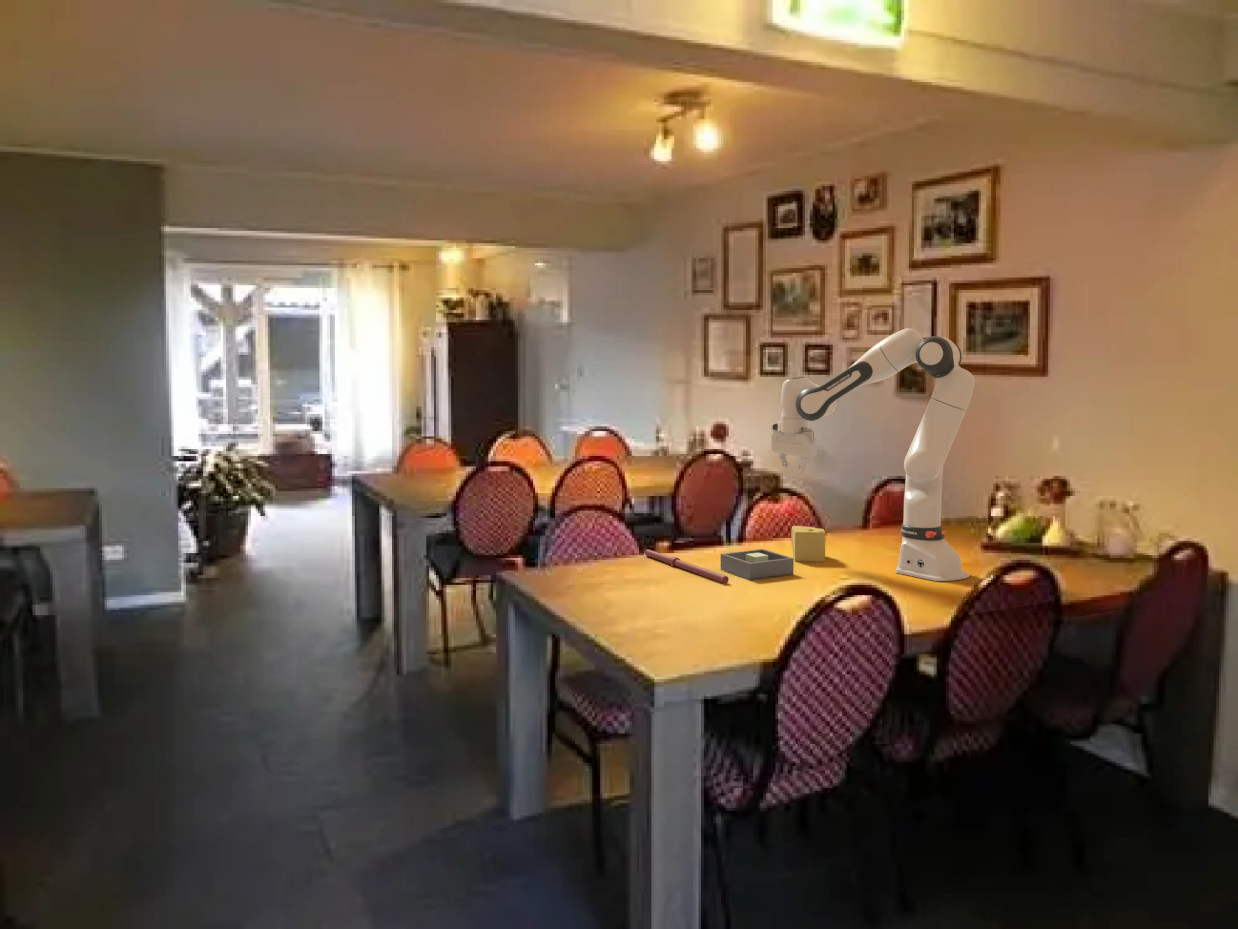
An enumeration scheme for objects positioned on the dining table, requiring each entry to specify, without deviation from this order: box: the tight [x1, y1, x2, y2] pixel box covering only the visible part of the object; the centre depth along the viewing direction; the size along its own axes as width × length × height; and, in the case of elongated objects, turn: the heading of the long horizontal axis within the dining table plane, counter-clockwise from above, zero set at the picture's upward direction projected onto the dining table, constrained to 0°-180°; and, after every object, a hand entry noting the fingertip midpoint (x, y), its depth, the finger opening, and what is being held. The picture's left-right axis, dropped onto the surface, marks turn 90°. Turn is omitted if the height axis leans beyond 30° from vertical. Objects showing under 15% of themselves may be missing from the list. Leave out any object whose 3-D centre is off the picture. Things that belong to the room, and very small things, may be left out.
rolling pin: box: [644, 549, 730, 584], centre depth 314 cm, size 45×3×3 cm, turn 29°
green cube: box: [745, 553, 768, 563], centre depth 309 cm, size 5×5×5 cm
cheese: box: [790, 525, 826, 563], centre depth 328 cm, size 10×11×10 cm
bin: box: [720, 548, 795, 581], centre depth 309 cm, size 16×16×5 cm
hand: (793, 468), depth 329 cm, fingers open, 8 cm apart
